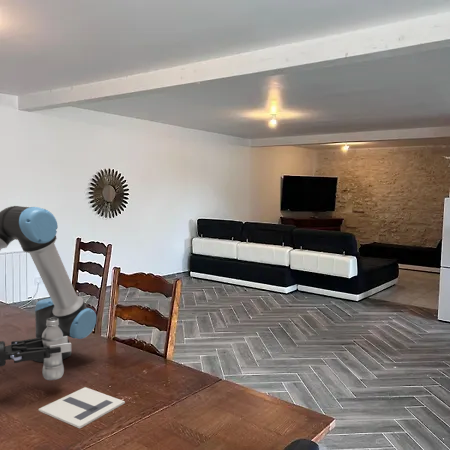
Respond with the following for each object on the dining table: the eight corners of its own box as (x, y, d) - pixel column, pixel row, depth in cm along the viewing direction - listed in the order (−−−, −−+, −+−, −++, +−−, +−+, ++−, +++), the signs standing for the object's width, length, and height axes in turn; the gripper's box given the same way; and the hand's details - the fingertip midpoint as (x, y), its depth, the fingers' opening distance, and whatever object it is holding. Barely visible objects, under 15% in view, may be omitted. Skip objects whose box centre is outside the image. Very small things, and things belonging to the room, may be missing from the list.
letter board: (85, 388, 150) (85, 387, 150) (124, 403, 140) (124, 401, 140) (38, 410, 134) (38, 408, 134) (79, 428, 125) (79, 426, 125)
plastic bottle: (56, 383, 143) (56, 323, 141) (38, 381, 144) (37, 321, 142) (67, 375, 149) (67, 317, 147) (49, 373, 150) (49, 315, 148)
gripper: (-10, 356, 145) (64, 345, 157) (-8, 379, 129) (74, 364, 140) (-11, 333, 145) (64, 324, 156) (-9, 353, 128) (74, 341, 139)
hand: (69, 343), depth 148 cm, fingers closed on plastic bottle, 6 cm apart
